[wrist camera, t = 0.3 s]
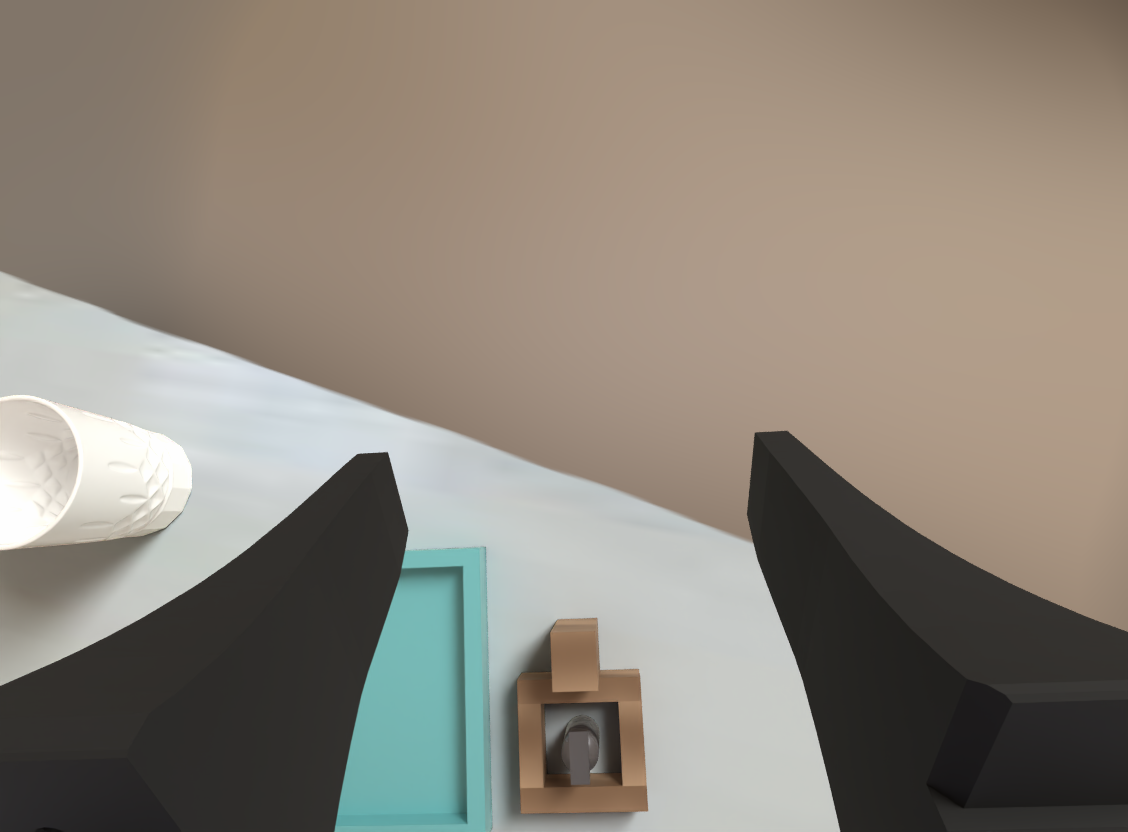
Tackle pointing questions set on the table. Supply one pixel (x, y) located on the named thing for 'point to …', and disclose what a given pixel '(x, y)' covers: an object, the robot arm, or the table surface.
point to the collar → (579, 684)
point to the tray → (425, 706)
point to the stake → (580, 748)
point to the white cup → (83, 476)
